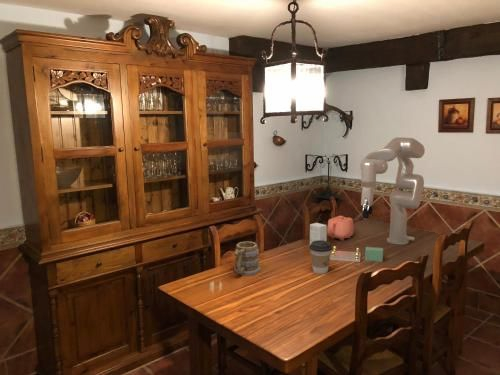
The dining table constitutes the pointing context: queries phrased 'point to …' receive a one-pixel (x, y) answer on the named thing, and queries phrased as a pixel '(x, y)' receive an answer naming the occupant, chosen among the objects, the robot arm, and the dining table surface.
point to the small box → (318, 232)
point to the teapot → (340, 227)
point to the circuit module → (374, 254)
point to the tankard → (247, 258)
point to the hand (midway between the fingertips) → (367, 215)
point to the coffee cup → (320, 256)
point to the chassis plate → (345, 255)
